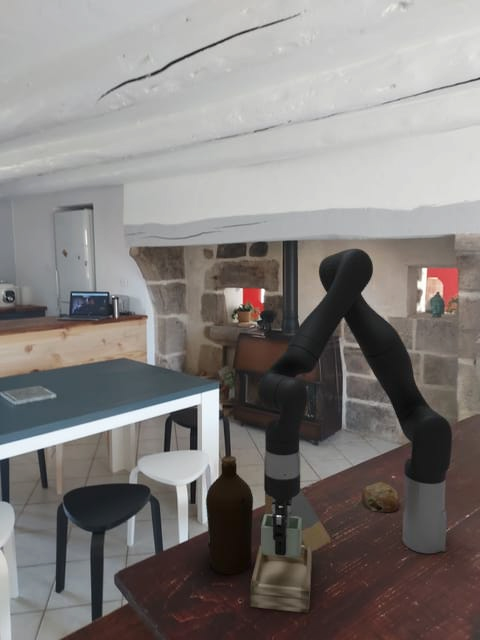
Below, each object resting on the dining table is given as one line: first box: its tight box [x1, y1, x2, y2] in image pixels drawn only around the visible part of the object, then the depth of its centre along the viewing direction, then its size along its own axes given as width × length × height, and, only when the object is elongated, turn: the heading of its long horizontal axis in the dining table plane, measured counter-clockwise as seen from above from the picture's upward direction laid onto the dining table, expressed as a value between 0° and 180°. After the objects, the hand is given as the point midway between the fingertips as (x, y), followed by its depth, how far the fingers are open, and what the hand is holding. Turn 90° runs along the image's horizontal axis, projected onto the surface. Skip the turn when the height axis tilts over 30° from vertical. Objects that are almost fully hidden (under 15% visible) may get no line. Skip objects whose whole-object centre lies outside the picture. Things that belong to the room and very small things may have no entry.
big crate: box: [249, 542, 313, 614], centre depth 106 cm, size 12×16×5 cm
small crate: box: [260, 513, 302, 558], centre depth 105 cm, size 8×6×6 cm
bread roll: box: [361, 481, 399, 513], centre depth 140 cm, size 10×10×8 cm
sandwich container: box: [264, 487, 332, 552], centre depth 125 cm, size 9×15×15 cm, turn 41°
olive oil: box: [205, 455, 254, 576], centre depth 113 cm, size 11×11×25 cm
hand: (282, 545), depth 106 cm, fingers closed on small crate, 5 cm apart
